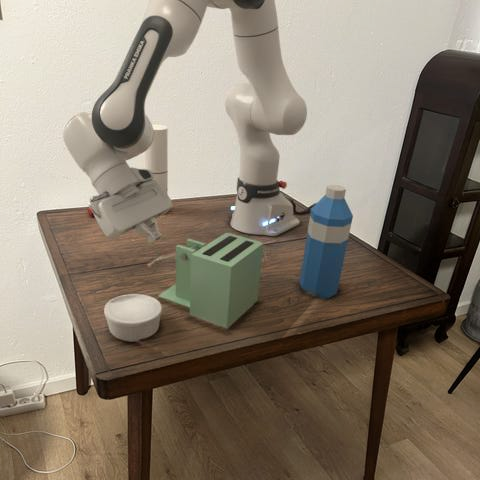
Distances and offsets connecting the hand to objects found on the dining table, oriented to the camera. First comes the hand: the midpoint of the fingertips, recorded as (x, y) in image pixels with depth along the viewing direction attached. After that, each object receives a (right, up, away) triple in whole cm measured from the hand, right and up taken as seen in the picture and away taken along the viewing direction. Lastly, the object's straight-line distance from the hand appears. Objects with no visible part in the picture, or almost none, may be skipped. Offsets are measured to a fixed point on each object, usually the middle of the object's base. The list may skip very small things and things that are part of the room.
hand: (156, 240), depth 108 cm
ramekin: (-3, -20, -9) cm, 22 cm away
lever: (+4, -5, 0) cm, 6 cm away
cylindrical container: (-8, +17, +48) cm, 52 cm away
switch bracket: (+7, -13, +3) cm, 15 cm away
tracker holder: (-23, +15, +43) cm, 51 cm away
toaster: (+15, -16, 0) cm, 22 cm away
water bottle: (+37, -10, +12) cm, 40 cm away
